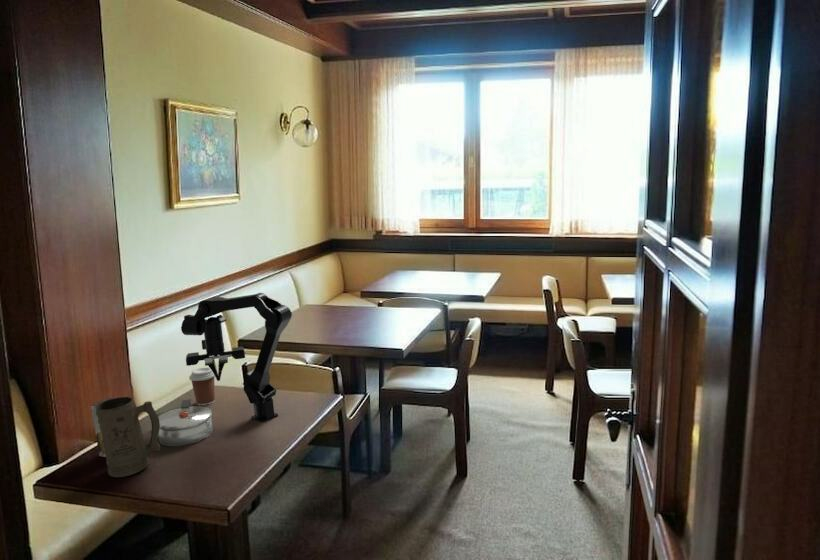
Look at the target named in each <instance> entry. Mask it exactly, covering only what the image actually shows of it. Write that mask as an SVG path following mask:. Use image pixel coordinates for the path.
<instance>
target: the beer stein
mask: <svg viewBox="0 0 820 560" xmlns="http://www.w3.org/2000/svg"><path fill="white" fill-rule="evenodd" d="M141 413H146V414H148V416H149V419H150V421H151V435H150V440H149V441H150V442H149V443H148V444H146V442H145V438H144V434H143V431H142V428H141V423H140V419H139V415H140V414H141ZM157 414H158V413H157V412H156V410H155V409H154V407H153V402H152V401H150V400H148V401H145V402H144V403H143V404H141V405H138V406H137V404H136V402H135V400H134V398H133V397H131V396H130V397H129V396H123V397H122V396H121V397H115V398H114V399H110V400H106V401H104V402H102V403H100V404H98V405H97V407H96V415H97V417H98V419H99V423H100V428H101V433H102V439H103V444H104V449H105V454H106V457H105V458H106V461H105V464H106V466H107V472H108V473H107V474H108V475H109V476H110V477H112V478H123V477H128V476H132V475H135V474H137V473H139V472H141V471H143V470H144V469H145V468H147V467H148V466H149V464H150V459H149V456H148V454H149V453H150V452H153V451H154V452H159V451H160V449H161V443H159V442H158V439H159V436H158V434H159V428H160V423H159V417H158V415H157Z"/></svg>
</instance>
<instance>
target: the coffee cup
mask: <svg viewBox="0 0 820 560" xmlns="http://www.w3.org/2000/svg"><path fill="white" fill-rule="evenodd" d="M215 378H216V377H215V375H214V373H213V371H212V370H211V369H210V367H209V366H205V367H198V368H195V369H193V370H192V371H191V374H190V375H189V377H188V380H190V381H191V384H192V389H193V393H194V399H195V403H197V404H198V405H197V404H196V405H197V406H200V405H203V406H208V405H207V404H209V405H212V404H214V403H215V402H216V396H215V395H216V392H215V388H216V387H215ZM213 402H214V403H213ZM211 403H212V404H211Z"/></svg>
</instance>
